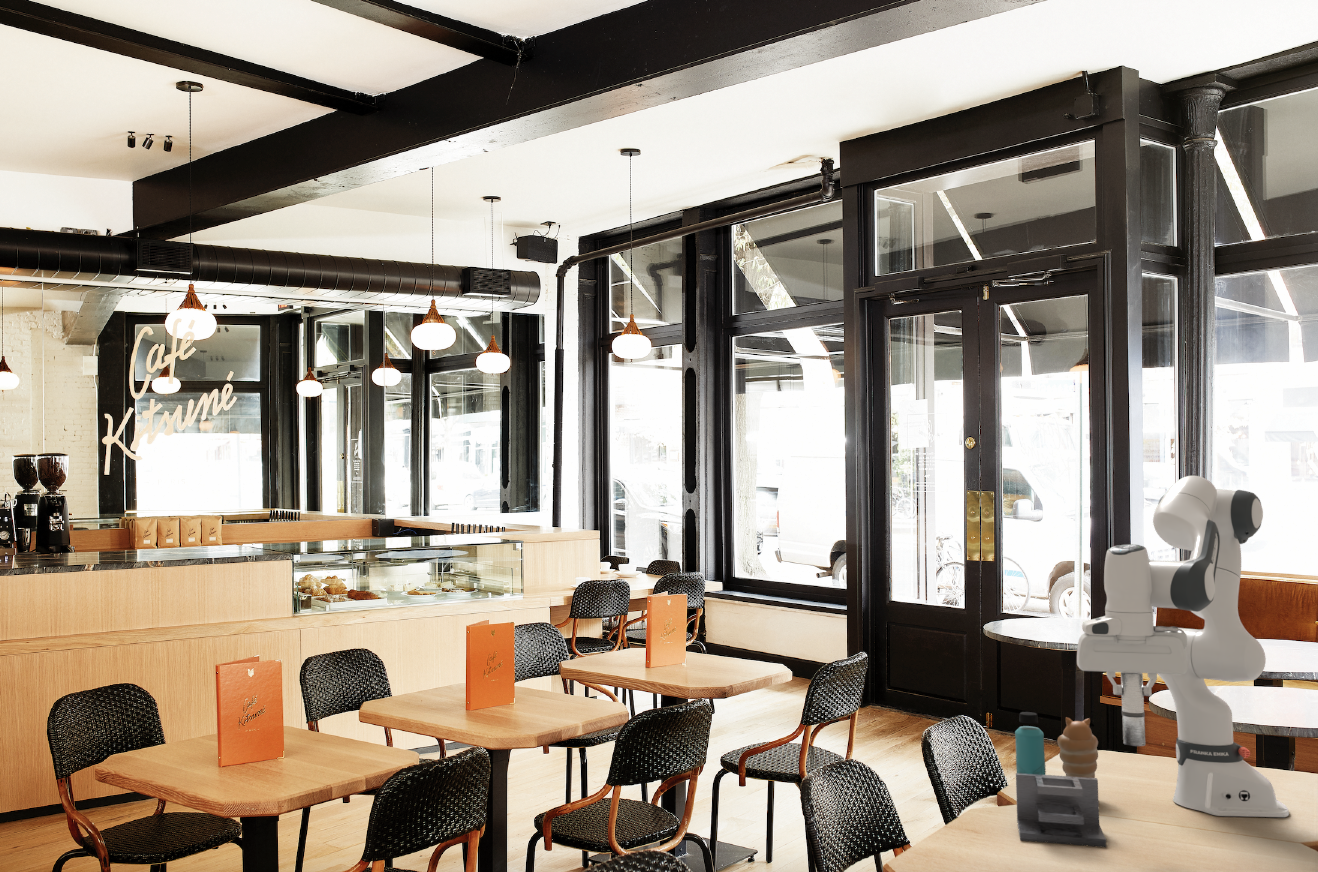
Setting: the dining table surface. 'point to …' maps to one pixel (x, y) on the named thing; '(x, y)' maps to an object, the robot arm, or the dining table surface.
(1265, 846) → the dining table surface
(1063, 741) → the cat ice cream
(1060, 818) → the collar stand
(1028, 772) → the beverage bottle
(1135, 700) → the grey cylinder
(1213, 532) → the robot arm
